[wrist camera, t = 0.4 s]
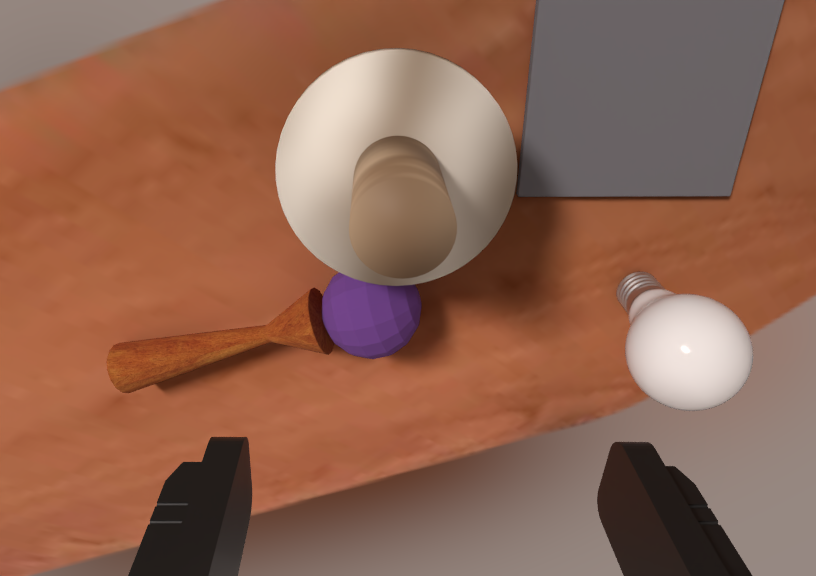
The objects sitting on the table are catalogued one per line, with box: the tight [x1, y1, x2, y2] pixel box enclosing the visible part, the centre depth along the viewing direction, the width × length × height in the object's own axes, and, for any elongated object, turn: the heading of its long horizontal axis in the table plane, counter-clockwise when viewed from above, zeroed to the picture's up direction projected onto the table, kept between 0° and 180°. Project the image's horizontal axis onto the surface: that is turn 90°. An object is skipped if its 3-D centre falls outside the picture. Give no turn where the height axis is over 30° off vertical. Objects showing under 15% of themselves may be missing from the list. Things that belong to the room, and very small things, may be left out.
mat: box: [516, 0, 784, 197], centre depth 34 cm, size 13×13×1 cm
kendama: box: [107, 272, 421, 393], centre depth 38 cm, size 6×6×20 cm
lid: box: [276, 48, 517, 286], centre depth 26 cm, size 11×11×7 cm
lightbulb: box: [616, 272, 753, 411], centre depth 35 cm, size 6×6×11 cm
